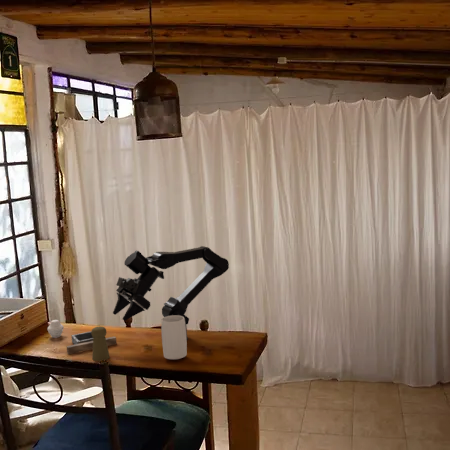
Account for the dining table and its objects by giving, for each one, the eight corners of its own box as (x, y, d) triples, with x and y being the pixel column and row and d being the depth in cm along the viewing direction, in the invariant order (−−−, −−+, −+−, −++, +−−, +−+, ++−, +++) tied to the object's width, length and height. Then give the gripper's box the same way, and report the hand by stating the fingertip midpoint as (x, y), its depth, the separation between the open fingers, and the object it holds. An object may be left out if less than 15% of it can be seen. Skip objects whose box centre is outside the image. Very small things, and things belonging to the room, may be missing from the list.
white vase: (62, 338, 217) (60, 321, 216) (46, 339, 217) (44, 322, 216) (66, 333, 223) (64, 316, 223) (50, 334, 223) (49, 317, 222)
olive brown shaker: (105, 361, 192) (103, 330, 190) (89, 360, 193) (86, 330, 191) (112, 354, 197) (110, 324, 196) (96, 354, 199) (94, 324, 197)
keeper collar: (95, 336, 218) (95, 330, 217) (102, 343, 210) (101, 336, 209) (72, 341, 213) (71, 335, 213) (77, 348, 205) (77, 341, 205)
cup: (174, 352, 197) (171, 313, 195) (192, 356, 192) (190, 316, 190) (158, 360, 190) (155, 320, 188) (176, 364, 185) (174, 323, 183)
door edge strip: (115, 342, 210) (114, 336, 210) (116, 343, 208) (116, 337, 208) (67, 352, 201) (66, 346, 201) (68, 354, 200) (67, 347, 199)
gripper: (119, 264, 206) (93, 298, 201) (139, 272, 190) (111, 310, 186) (140, 281, 211) (115, 315, 207) (162, 291, 195) (135, 328, 191)
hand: (118, 316), depth 197 cm, fingers open, 9 cm apart
